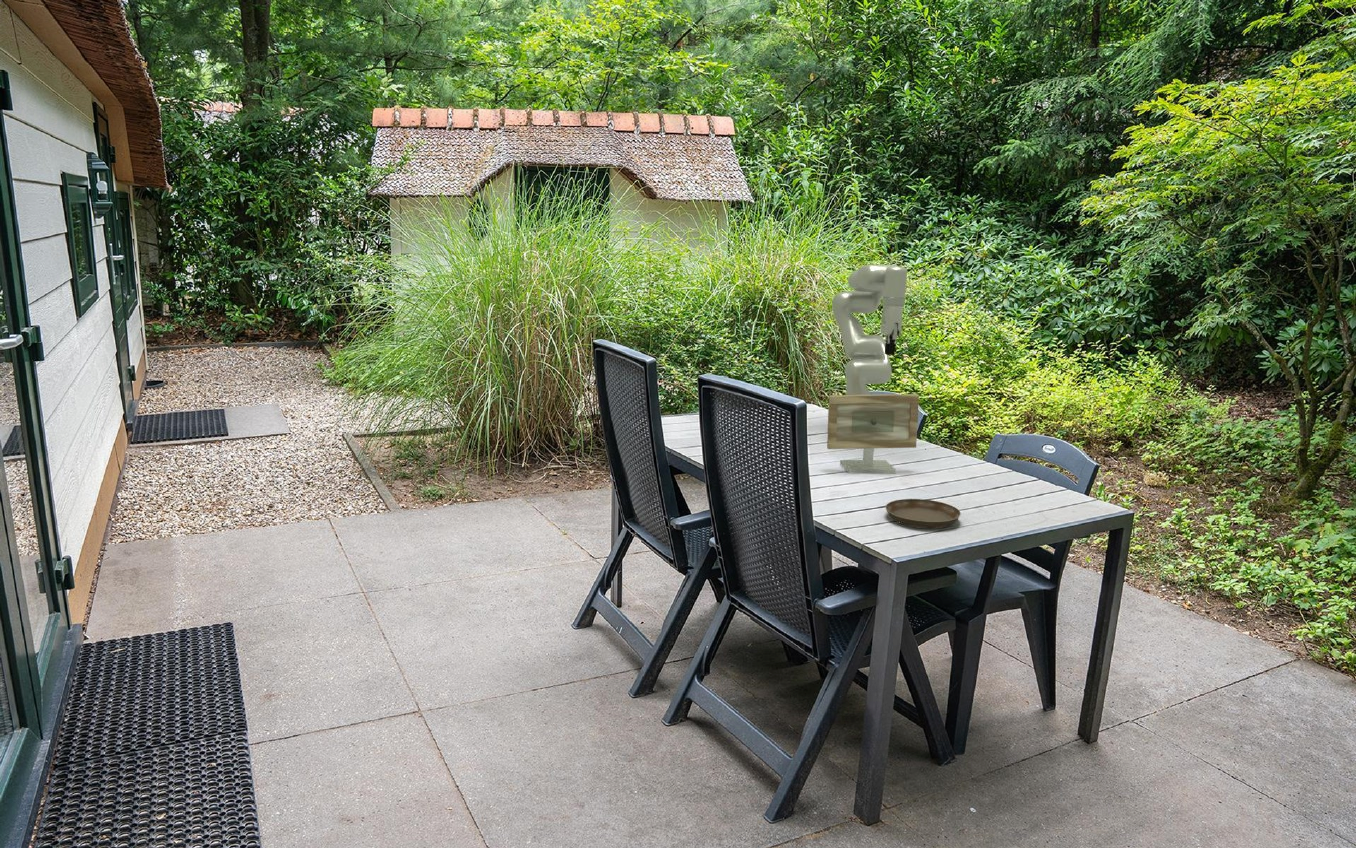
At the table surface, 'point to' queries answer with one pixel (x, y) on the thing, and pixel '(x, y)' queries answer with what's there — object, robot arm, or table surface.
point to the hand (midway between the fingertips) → (889, 354)
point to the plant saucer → (922, 513)
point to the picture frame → (872, 421)
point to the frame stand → (868, 464)
